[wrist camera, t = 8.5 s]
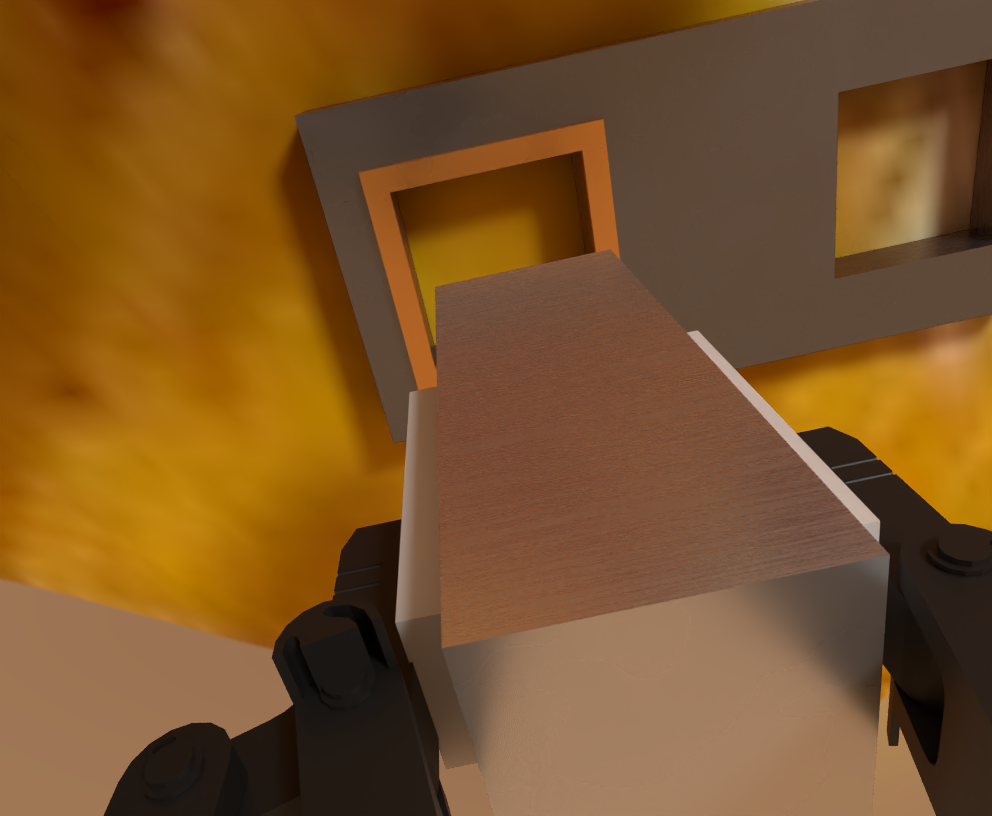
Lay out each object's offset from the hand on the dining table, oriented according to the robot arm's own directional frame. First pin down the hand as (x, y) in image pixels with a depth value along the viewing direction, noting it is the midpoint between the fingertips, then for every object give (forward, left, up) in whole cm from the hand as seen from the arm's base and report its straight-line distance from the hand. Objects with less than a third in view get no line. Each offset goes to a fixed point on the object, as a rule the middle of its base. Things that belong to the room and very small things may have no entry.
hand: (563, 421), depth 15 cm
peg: (0, 0, -4) cm, 4 cm away
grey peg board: (+7, 0, -13) cm, 15 cm away
